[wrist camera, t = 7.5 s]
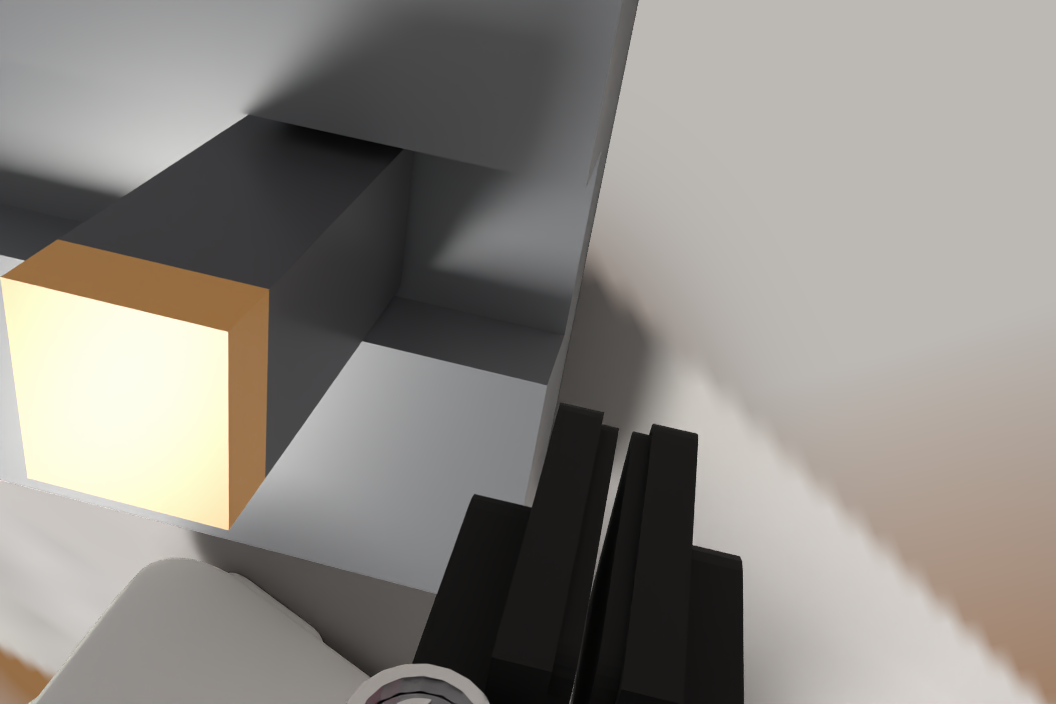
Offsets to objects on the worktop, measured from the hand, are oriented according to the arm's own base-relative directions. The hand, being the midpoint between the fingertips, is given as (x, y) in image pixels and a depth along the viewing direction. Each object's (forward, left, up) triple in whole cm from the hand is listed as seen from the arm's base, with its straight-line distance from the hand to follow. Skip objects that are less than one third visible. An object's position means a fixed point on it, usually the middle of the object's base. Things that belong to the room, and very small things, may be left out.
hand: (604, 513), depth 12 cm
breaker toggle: (+6, 0, -8) cm, 10 cm away
